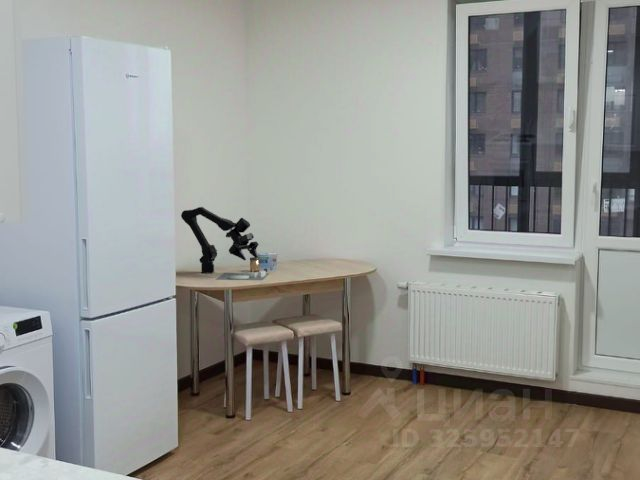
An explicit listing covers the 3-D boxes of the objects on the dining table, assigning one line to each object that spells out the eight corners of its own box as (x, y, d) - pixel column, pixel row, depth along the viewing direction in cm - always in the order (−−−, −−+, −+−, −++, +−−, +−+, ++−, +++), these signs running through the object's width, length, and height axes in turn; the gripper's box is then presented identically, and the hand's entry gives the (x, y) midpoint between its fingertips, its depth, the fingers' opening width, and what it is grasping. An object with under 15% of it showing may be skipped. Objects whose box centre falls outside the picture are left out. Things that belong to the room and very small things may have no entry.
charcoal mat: (215, 280, 417) (215, 279, 417) (224, 273, 441) (224, 272, 441) (262, 281, 415) (262, 280, 415) (269, 274, 439) (269, 273, 439)
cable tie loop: (243, 275, 430) (243, 270, 430) (254, 274, 436) (254, 269, 436) (257, 277, 423) (257, 272, 423) (268, 275, 430) (268, 270, 429)
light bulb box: (259, 273, 444) (259, 254, 443) (257, 271, 451) (257, 253, 449) (277, 272, 447) (277, 253, 446) (275, 270, 453) (275, 252, 452)
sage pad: (227, 279, 417) (227, 278, 417) (231, 276, 428) (231, 275, 428) (247, 279, 416) (247, 278, 416) (250, 276, 427) (250, 275, 427)
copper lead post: (249, 276, 428) (248, 258, 427) (250, 275, 433) (250, 257, 432) (258, 276, 428) (258, 258, 426) (260, 275, 433) (259, 257, 432)
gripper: (231, 229, 426) (246, 251, 420) (255, 227, 440) (270, 247, 434) (222, 243, 432) (236, 264, 426) (246, 240, 446) (260, 260, 440)
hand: (251, 258), depth 431 cm, fingers open, 9 cm apart
